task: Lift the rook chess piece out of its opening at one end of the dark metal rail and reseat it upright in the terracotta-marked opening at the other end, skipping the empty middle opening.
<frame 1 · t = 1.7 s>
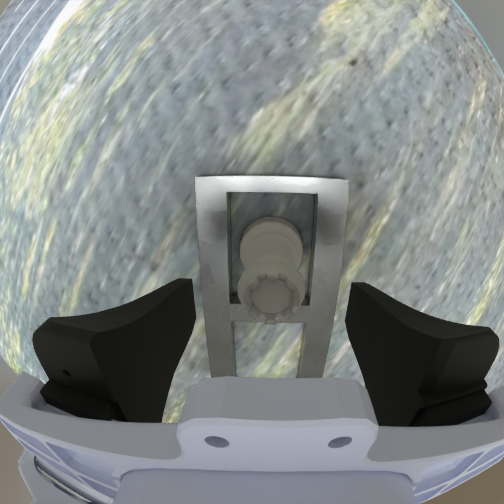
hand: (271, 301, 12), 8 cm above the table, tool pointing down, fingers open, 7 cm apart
hole rail: (267, 350, 23), on the table
rook chess piece: (271, 244, 20), resting in hole rail
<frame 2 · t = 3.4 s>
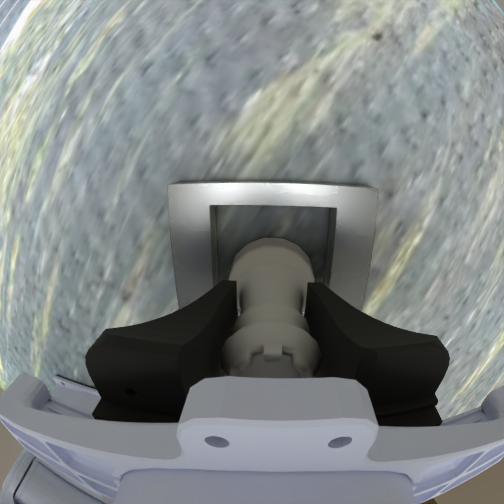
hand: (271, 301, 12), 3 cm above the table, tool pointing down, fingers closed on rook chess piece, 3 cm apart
hole rail: (266, 392, 18), on the table
rook chess piece: (271, 272, 15), resting in hole rail, touching gripper
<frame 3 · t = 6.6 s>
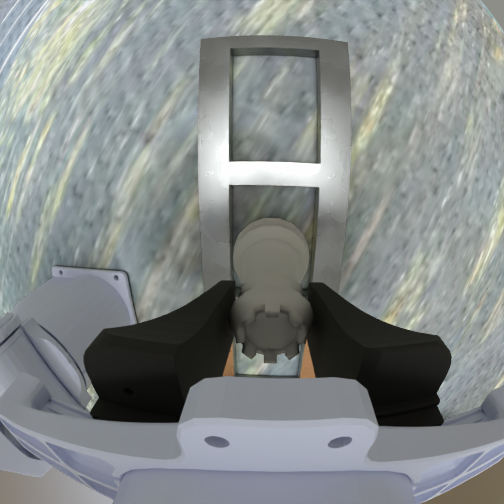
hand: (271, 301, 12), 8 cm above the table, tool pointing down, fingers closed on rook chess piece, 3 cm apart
hole rail: (272, 238, 20), on the table
rook chess piece: (271, 249, 17), point 3 cm above the table, touching gripper
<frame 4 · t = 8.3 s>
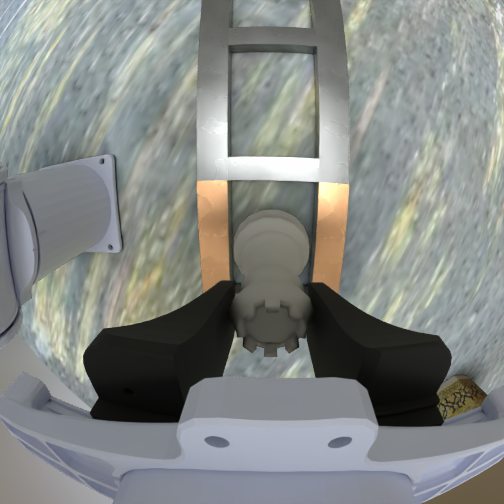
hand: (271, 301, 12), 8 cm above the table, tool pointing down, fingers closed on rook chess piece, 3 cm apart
hole rail: (273, 101, 16), on the table
ceramic cup: (447, 396, 25), on the table
rook chess piece: (271, 240, 17), point 3 cm above the table, touching gripper
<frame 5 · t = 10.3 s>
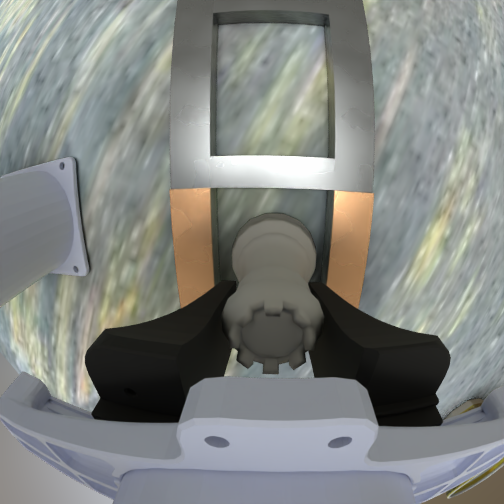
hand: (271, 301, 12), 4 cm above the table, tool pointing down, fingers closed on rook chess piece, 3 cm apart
hole rail: (272, 83, 12), on the table
ceramic cup: (459, 419, 21), on the table
rook chess piece: (274, 249, 15), resting in hole rail, touching gripper
when the fingers open (4 cm above the table, at t = 11.0 s): rook chess piece stays where it is, resting in hole rail.
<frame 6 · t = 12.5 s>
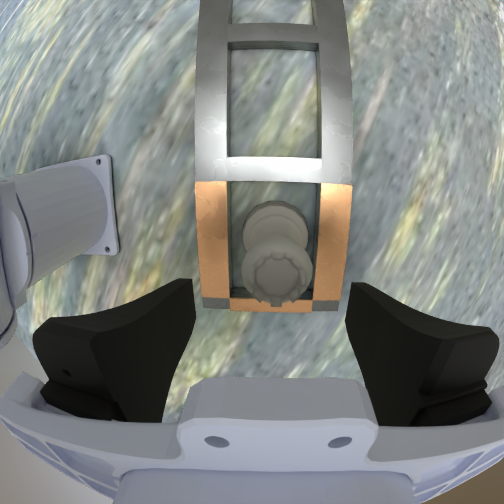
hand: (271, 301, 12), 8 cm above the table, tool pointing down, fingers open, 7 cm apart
hole rail: (273, 99, 16), on the table
rook chess piece: (275, 230, 19), resting in hole rail
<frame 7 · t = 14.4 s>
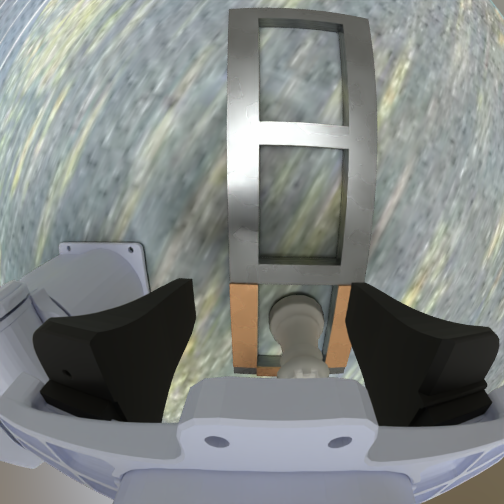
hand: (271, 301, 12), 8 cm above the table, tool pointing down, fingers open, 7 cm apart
hole rail: (300, 203, 19), on the table
rook chess piece: (295, 314, 22), resting in hole rail
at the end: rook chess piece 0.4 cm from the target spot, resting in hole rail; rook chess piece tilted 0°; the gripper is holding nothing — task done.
